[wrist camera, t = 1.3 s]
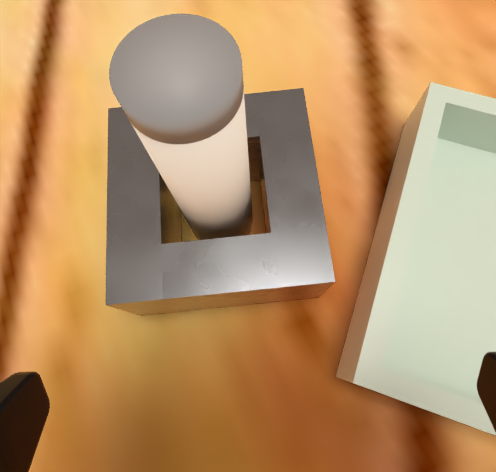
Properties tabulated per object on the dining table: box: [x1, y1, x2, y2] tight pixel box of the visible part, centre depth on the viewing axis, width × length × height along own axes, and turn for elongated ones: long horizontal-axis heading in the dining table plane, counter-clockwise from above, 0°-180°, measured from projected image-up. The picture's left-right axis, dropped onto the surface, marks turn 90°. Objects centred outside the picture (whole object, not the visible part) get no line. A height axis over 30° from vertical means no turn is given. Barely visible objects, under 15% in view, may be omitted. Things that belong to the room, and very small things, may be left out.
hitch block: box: [106, 88, 335, 315], centre depth 20 cm, size 10×10×5 cm
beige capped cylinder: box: [109, 14, 253, 240], centre depth 16 cm, size 4×4×13 cm
